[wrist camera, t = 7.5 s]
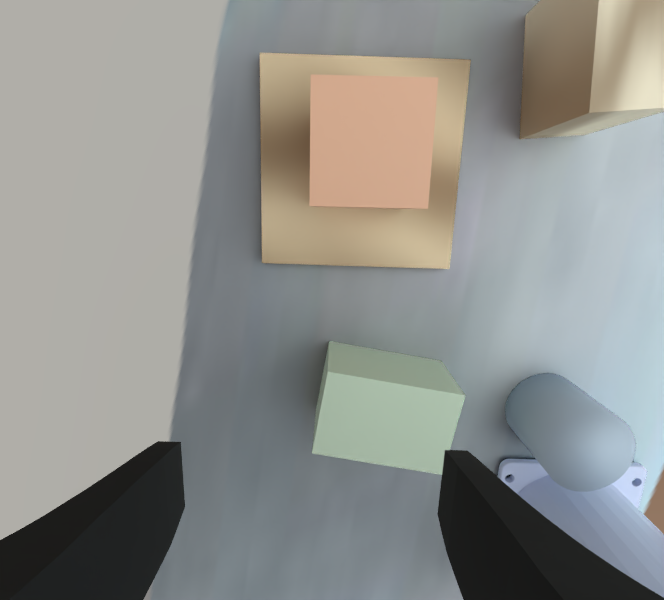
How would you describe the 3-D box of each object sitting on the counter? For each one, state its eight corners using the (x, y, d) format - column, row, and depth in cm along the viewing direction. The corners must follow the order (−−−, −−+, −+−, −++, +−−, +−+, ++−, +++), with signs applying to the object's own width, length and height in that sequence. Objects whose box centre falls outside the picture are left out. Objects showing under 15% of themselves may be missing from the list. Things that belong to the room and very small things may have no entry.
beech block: (519, 139, 18) (584, 135, 18) (589, 112, 13) (680, 106, 13) (524, 16, 17) (595, 11, 17) (604, -66, 12) (704, -72, 12)
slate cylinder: (572, 441, 21) (625, 493, 17) (500, 438, 21) (537, 490, 17) (585, 374, 20) (644, 413, 16) (510, 371, 20) (551, 410, 16)
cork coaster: (445, 267, 19) (449, 268, 18) (264, 261, 19) (261, 263, 18) (466, 64, 17) (470, 59, 16) (262, 58, 17) (259, 52, 16)
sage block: (422, 426, 21) (442, 475, 17) (316, 408, 21) (311, 453, 17) (440, 359, 20) (465, 395, 16) (329, 340, 20) (327, 371, 16)
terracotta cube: (402, 208, 18) (428, 208, 13) (316, 206, 18) (309, 205, 13) (408, 115, 17) (438, 77, 12) (317, 113, 17) (310, 74, 12)
